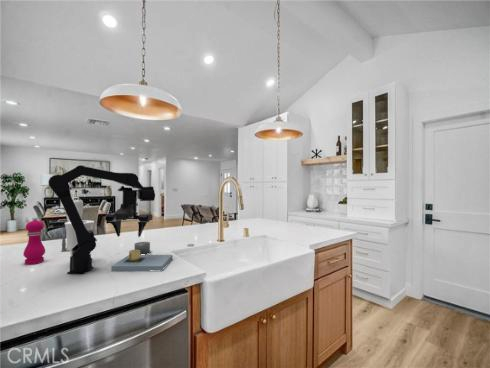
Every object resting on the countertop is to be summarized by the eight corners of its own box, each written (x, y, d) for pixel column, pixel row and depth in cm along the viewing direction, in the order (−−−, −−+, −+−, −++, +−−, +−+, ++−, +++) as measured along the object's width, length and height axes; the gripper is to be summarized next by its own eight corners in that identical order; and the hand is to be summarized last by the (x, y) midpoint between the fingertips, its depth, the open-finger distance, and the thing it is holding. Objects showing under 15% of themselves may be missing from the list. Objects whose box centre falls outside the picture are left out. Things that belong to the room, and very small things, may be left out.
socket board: (111, 271, 95) (111, 266, 95) (129, 258, 111) (129, 254, 111) (161, 271, 96) (161, 266, 96) (172, 258, 112) (172, 254, 112)
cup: (78, 268, 99) (79, 224, 99) (57, 266, 101) (58, 223, 101) (99, 260, 109) (99, 220, 109) (79, 258, 111) (80, 219, 111)
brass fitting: (127, 266, 101) (127, 252, 101) (131, 263, 106) (131, 249, 106) (137, 266, 101) (137, 252, 101) (141, 263, 106) (141, 249, 106)
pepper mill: (20, 263, 104) (20, 217, 104) (40, 259, 110) (41, 215, 110) (27, 266, 100) (28, 218, 101) (48, 261, 107) (49, 216, 107)
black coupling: (131, 255, 118) (132, 245, 118) (137, 251, 125) (138, 241, 125) (146, 255, 118) (146, 245, 118) (151, 251, 125) (152, 241, 125)
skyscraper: (67, 248, 130) (68, 196, 130) (84, 247, 133) (85, 196, 133) (60, 252, 122) (61, 197, 122) (79, 251, 125) (80, 197, 125)
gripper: (97, 202, 98) (96, 240, 98) (142, 203, 98) (141, 241, 98) (112, 200, 109) (111, 234, 109) (153, 201, 109) (152, 235, 109)
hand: (128, 236), depth 106 cm, fingers open, 9 cm apart
